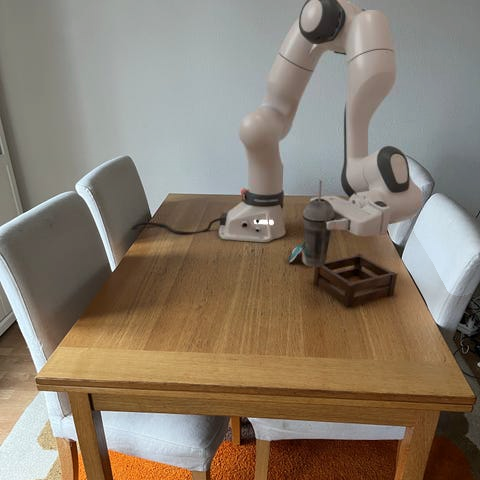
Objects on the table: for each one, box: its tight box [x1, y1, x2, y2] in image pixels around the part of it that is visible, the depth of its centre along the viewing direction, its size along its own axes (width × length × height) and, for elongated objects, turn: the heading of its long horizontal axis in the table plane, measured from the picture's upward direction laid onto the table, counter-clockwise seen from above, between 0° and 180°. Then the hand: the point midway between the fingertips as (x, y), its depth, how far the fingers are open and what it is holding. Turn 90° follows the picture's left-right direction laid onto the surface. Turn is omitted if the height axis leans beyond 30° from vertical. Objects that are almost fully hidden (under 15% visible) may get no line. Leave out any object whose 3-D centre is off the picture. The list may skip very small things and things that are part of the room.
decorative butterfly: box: [288, 236, 309, 267], centre depth 140 cm, size 10×6×10 cm
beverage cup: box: [302, 180, 335, 268], centre depth 109 cm, size 7×7×20 cm
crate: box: [313, 253, 398, 309], centre depth 123 cm, size 15×15×6 cm
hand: (315, 219), depth 108 cm, fingers closed on beverage cup, 7 cm apart
